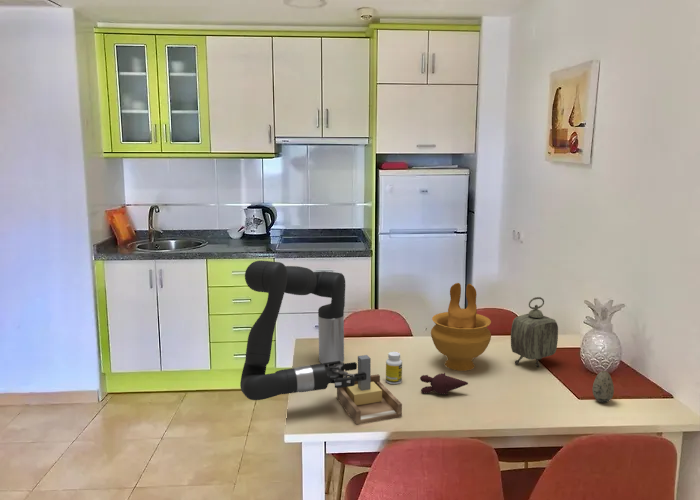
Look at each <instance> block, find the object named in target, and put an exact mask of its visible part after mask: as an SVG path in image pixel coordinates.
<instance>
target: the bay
mask: <svg viewBox="0 0 700 500" xmlns="http://www.w3.org/2000/svg"><path fill="white" fill-rule="evenodd" d="M371 382H374V383H375V384H376V385H377V386H378V387H379V388H380V389H381V390H382V401H381V402H375V403H369V404H363V405H357V406H356V404H355V403H354V402H353V401H352V399H351V398H350V397H349V396H348V395H347V387H341V388H336V399H337V400H338V402H339V403H340V405H341V406H342V407H343V409H344V410H345V412H347V413H348V415H349V416H350V418H351V419H352V421H353V422H354V423H355V424H356V425H362V424H368V423H374V422H379V421H385V420H391V419H395V418H396V419H397V418H402V417H403V403H402V402H401V401H400V400H399V399H397V397H396V396H395V395H394V394H393V393H392V392H391V391H390V390H389V389H388V388H387V387H386V386H385V385H384V384H383V383H382V382H381V375H380V374H377V373H376V374H372V375H371ZM355 384H358V381H356V382H355Z"/></svg>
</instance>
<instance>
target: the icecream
mask: <svg viewBox="0 0 700 500" xmlns="http://www.w3.org/2000/svg"><path fill="white" fill-rule="evenodd" d="M419 380H420V381H421V382H423V383H426V384H428V383H429V384H430V386H429V385H427V386H424V387H422V388H421V389H420V392H421V393H422V394H431V393H432V392H435V393H436V394H438V395H448V393H449V392H451V391H454V390H456V389H459V388H461V387H464V386H466V385H468V384H469V382H468V381H466V380H462V379H458V378H456V377H452V376H449V375H447V374H446V373H445V372H444V373H438V374H436V375H434V376H433V377H432V376H429V375H428V374H425V375H424V374H423V375H421V376H420V377H419Z"/></svg>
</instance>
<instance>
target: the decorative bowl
mask: <svg viewBox="0 0 700 500" xmlns="http://www.w3.org/2000/svg"><path fill="white" fill-rule="evenodd" d="M461 286H462V285H461V283H459V282H456V283H454V284H452V285H451V286H450V288H449V295H450V301H449V304H448V308H447V311H446V312H440V313H436V314H435V315H433V316H432V319H431V320H432V321H433V323H434V326H432V328H431V330H430V336H431V337H430V338H431V339H432V342H433V344H434V346H435V349H437V351H438V352H439V353H440V354H442V355H443V356H445V357H446V358H447V359H446V361H445V362H444V366H445V367H446V368H447V369H449V370H452V371H458V372H461V371H462V372H465V371H471V370H473V369H474V368H475V367H476V365H475V364H474V359H475V358H478V357H480V356H481V355H482V354H483V353H485V351H486V349H488V346H489V344H490V342H491V340H492V333H491V330H490V329H489V328H488V327H489V326H490V325H491V323H492V320H491V319H490V318H489V317H488V316H485V315H483V314H479V313H478V312H477V311H478V309H477V290H476V288H475V287H474V285H472V284H471V283H467V285H466V289H465V290H466V291H465V296H466V297H465V298H466V301H467V306H466V308H462V307H461V306H460V301H461V297H462V296H461V294H462V287H461Z"/></svg>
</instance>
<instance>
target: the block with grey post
mask: <svg viewBox="0 0 700 500" xmlns="http://www.w3.org/2000/svg"><path fill="white" fill-rule="evenodd" d="M371 360H372V359H371V357H370V356H369V355H368V354H364V355H357V373H363V372H365V373H366V380H363V381H358V384H355V385H354V386H349V387H347V395H348V396H349V397H350V398H351V399H352V401H353V402H354V403H355V404H356V406H357V405H363V404H369V403H375V402H381V401H382V390H381V389H380V388H379V387H378V386H377V385H376V384H375V383H374V382H371V374H372V373H371V370H372V369H371V363H372V362H371Z"/></svg>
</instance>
